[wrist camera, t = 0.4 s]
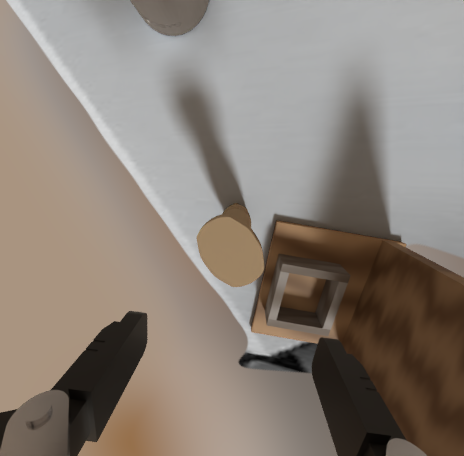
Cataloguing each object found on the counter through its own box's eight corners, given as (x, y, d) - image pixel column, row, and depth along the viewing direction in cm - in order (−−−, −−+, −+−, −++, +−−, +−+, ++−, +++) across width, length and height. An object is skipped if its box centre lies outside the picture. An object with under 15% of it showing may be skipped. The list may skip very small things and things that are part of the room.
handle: (234, 238, 33) (227, 295, 19) (211, 204, 32) (185, 237, 18) (261, 222, 32) (275, 269, 18) (238, 186, 31) (234, 206, 17)
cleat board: (276, 220, 32) (329, 314, 12) (401, 241, 32) (665, 373, 12) (251, 327, 38) (259, 511, 18) (357, 346, 38) (484, 552, 18)
